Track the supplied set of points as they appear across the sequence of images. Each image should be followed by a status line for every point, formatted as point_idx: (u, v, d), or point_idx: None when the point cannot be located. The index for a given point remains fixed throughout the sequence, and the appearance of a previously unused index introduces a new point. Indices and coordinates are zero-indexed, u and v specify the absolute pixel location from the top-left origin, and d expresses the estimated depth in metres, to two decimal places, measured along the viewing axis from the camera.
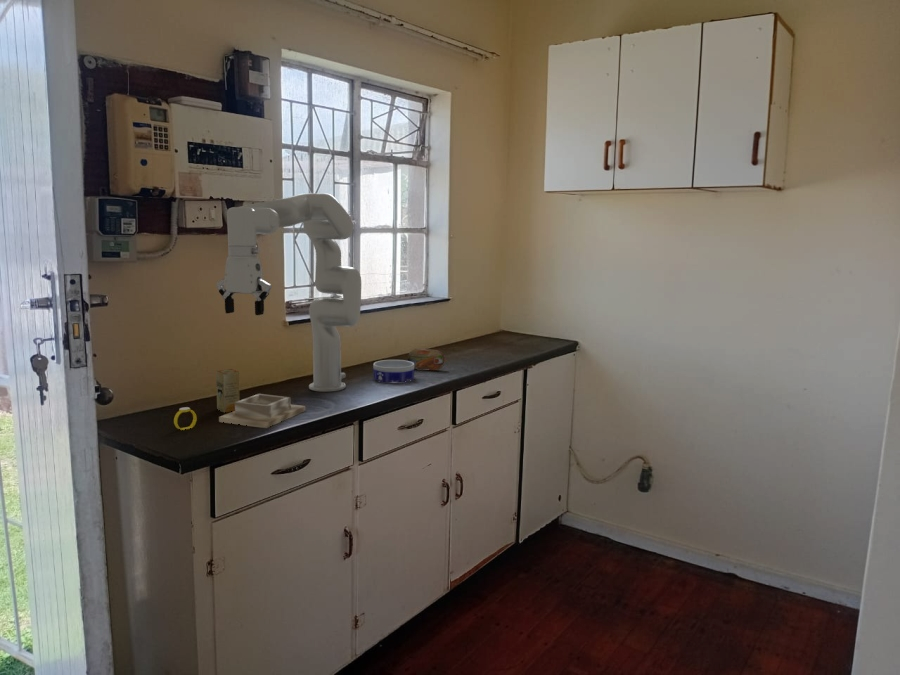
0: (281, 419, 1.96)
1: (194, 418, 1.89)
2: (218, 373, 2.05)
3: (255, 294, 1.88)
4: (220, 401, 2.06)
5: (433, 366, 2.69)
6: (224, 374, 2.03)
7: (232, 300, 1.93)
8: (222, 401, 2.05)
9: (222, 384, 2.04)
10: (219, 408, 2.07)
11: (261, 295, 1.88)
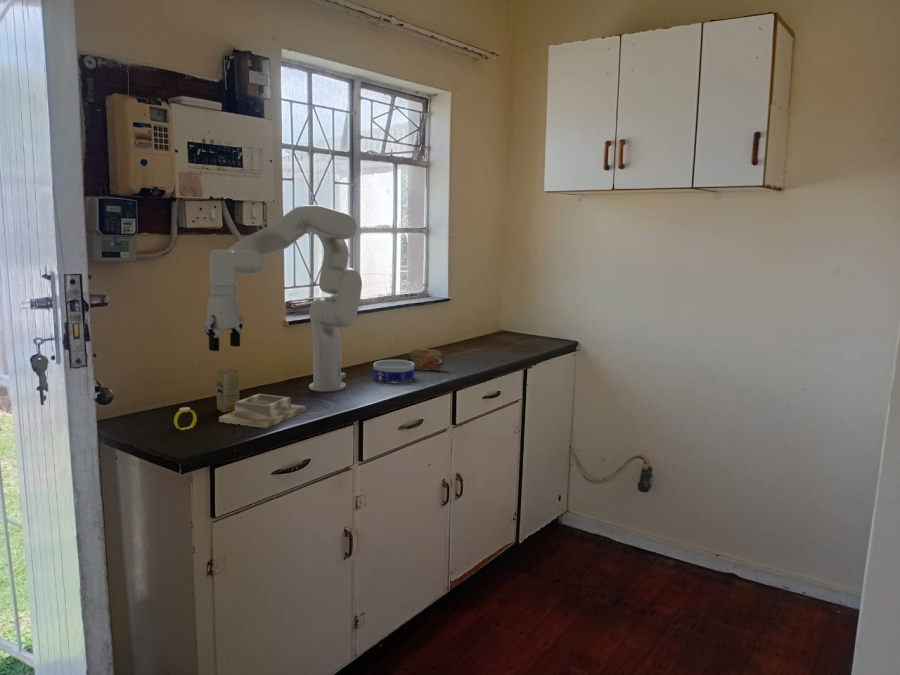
0: (281, 419, 1.96)
1: (194, 418, 1.89)
2: (218, 373, 2.05)
3: (238, 327, 2.08)
4: (220, 401, 2.06)
5: (433, 366, 2.69)
6: (224, 374, 2.03)
7: None
8: (222, 401, 2.05)
9: (222, 384, 2.04)
10: (219, 408, 2.07)
11: (239, 328, 2.09)
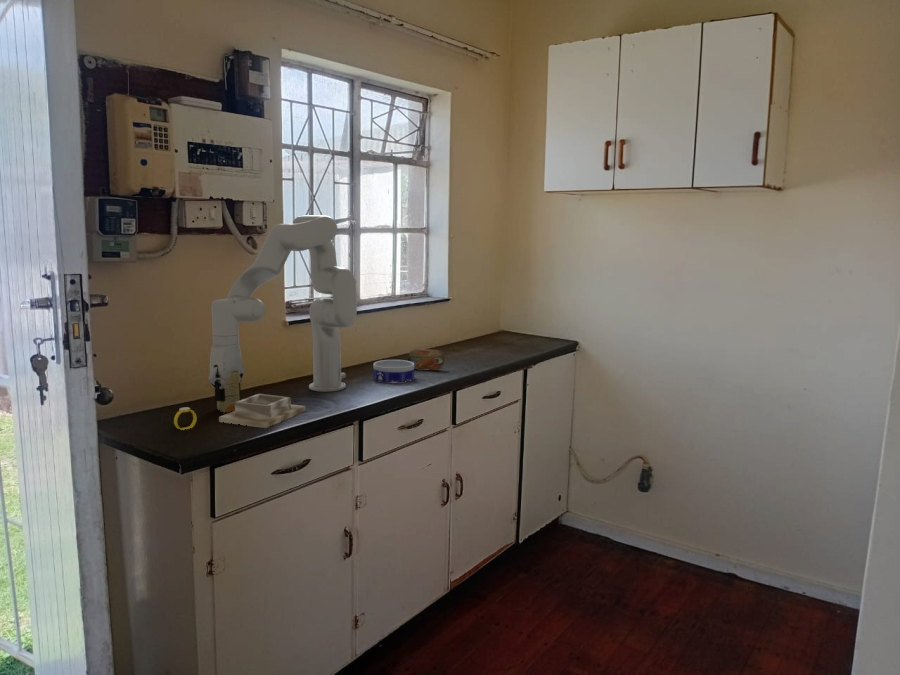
0: (281, 419, 1.96)
1: (194, 418, 1.89)
2: None
3: (239, 377, 2.10)
4: (220, 401, 2.06)
5: (433, 366, 2.69)
6: None
7: None
8: None
9: None
10: (219, 408, 2.07)
11: None
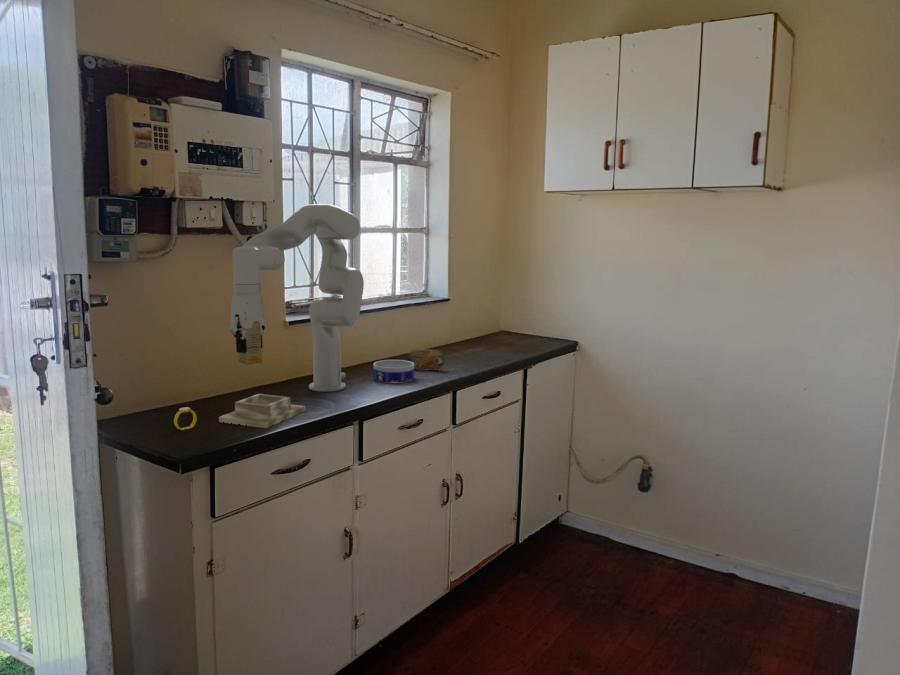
0: (281, 419, 1.96)
1: (194, 418, 1.89)
2: None
3: (260, 328, 2.03)
4: (241, 353, 1.99)
5: (433, 366, 2.69)
6: None
7: None
8: (243, 353, 1.98)
9: None
10: (240, 360, 2.00)
11: None
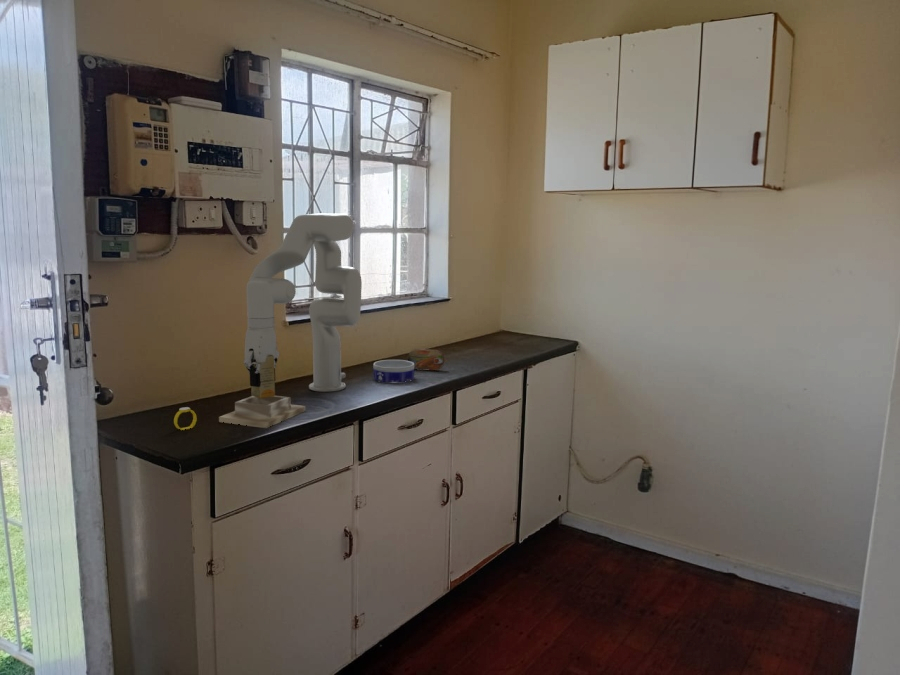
0: (281, 419, 1.96)
1: (194, 418, 1.89)
2: None
3: None
4: None
5: (433, 366, 2.69)
6: None
7: None
8: None
9: None
10: (254, 394, 2.00)
11: (274, 361, 2.04)
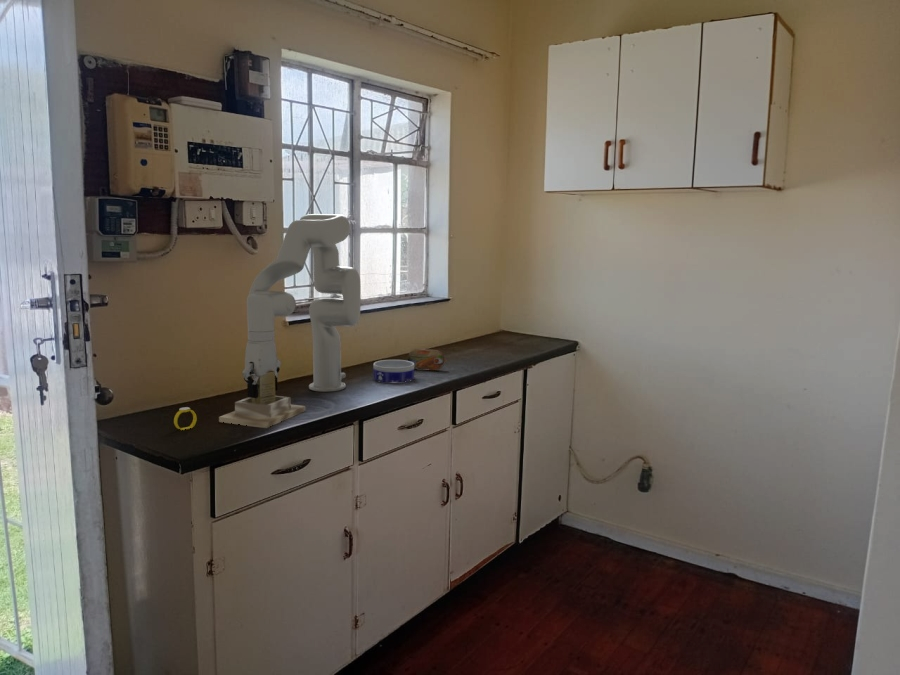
0: (281, 419, 1.96)
1: (194, 418, 1.89)
2: (254, 373, 1.99)
3: (275, 372, 2.03)
4: (255, 402, 1.99)
5: (433, 366, 2.69)
6: None
7: None
8: (258, 402, 1.98)
9: (258, 384, 1.97)
10: None
11: (276, 371, 2.05)
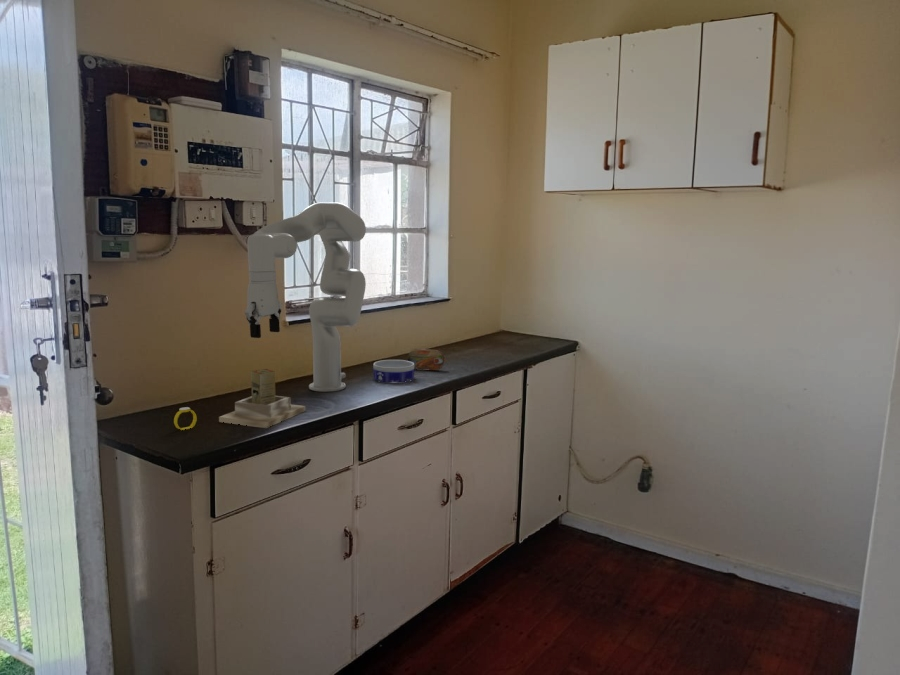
0: (281, 419, 1.96)
1: (194, 418, 1.89)
2: (254, 373, 1.99)
3: (277, 313, 2.05)
4: (255, 402, 1.99)
5: (433, 366, 2.69)
6: (260, 374, 1.97)
7: None
8: (258, 402, 1.98)
9: (258, 384, 1.97)
10: None
11: None
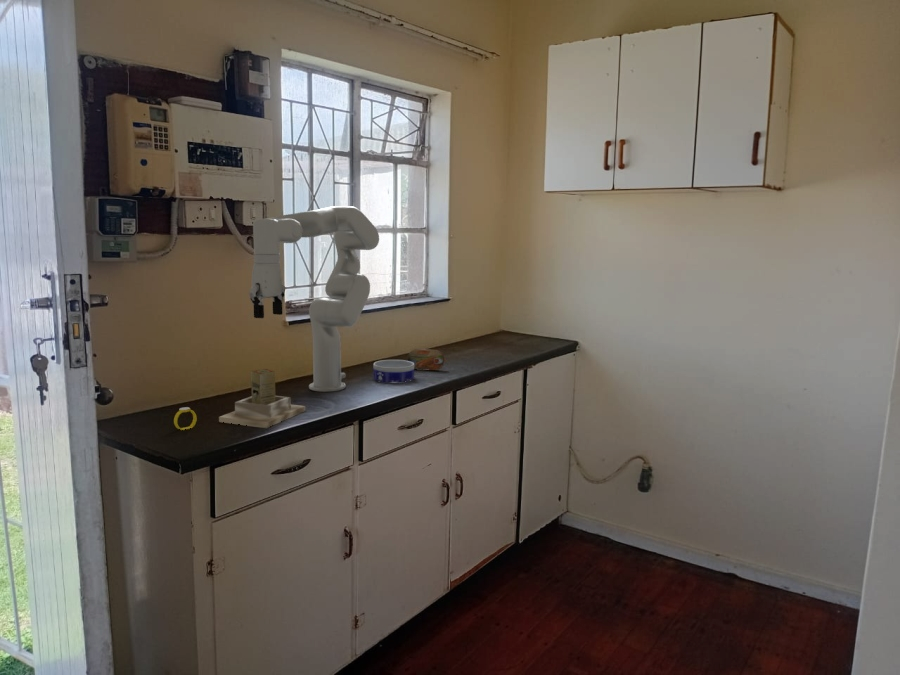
0: (281, 419, 1.96)
1: (194, 418, 1.89)
2: (254, 373, 1.99)
3: (280, 296, 2.12)
4: (255, 402, 1.99)
5: (433, 366, 2.69)
6: (260, 374, 1.97)
7: None
8: (258, 402, 1.98)
9: (258, 384, 1.97)
10: None
11: (281, 296, 2.14)
